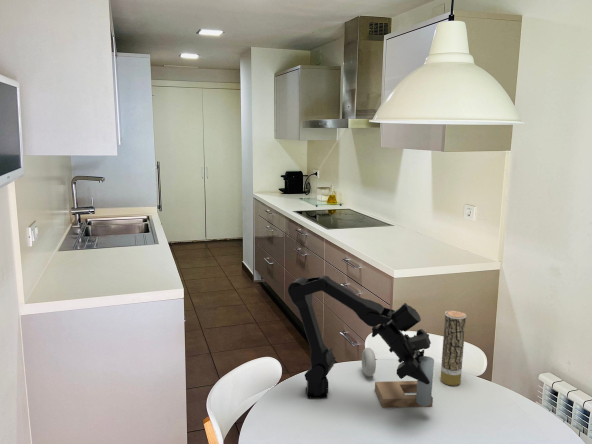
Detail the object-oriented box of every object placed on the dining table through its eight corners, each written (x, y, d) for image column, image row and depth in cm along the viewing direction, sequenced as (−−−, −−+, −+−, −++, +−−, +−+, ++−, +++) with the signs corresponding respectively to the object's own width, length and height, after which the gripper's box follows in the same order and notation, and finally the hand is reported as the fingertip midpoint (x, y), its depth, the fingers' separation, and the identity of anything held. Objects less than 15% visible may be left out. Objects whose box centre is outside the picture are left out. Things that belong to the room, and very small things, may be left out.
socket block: (382, 407, 156) (383, 399, 155) (374, 389, 167) (375, 381, 166) (432, 406, 157) (432, 397, 156) (421, 388, 168) (421, 380, 167)
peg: (418, 406, 148) (421, 362, 146) (414, 398, 152) (417, 356, 150) (432, 405, 148) (436, 362, 146) (428, 398, 153) (431, 355, 150)
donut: (376, 381, 172) (377, 355, 170) (366, 382, 172) (367, 355, 170) (369, 368, 182) (370, 342, 180) (360, 368, 182) (361, 343, 180)
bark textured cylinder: (461, 387, 169) (467, 318, 165) (441, 385, 170) (446, 316, 166) (459, 378, 176) (464, 311, 171) (439, 376, 177) (444, 309, 173)
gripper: (410, 336, 139) (448, 380, 137) (419, 314, 156) (453, 353, 154) (381, 357, 143) (417, 400, 141) (393, 333, 160) (425, 371, 158)
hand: (429, 380), depth 149 cm, fingers closed on peg, 4 cm apart
